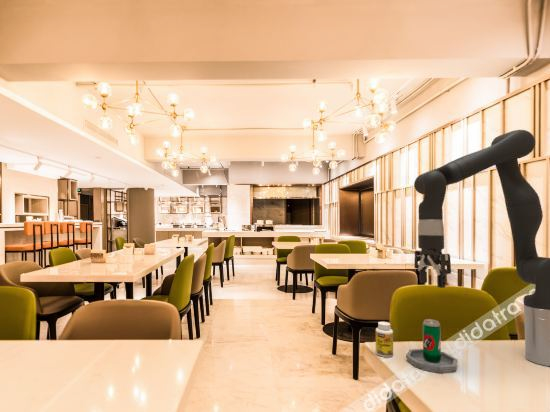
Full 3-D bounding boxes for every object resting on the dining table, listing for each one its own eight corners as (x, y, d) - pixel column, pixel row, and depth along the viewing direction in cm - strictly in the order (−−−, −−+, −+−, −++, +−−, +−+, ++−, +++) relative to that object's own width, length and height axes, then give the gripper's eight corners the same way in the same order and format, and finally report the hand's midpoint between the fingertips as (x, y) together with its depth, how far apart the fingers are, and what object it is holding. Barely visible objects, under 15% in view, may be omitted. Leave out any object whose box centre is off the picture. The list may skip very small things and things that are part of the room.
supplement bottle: (375, 356, 108) (374, 324, 108) (376, 350, 113) (376, 320, 114) (393, 358, 106) (392, 326, 106) (393, 352, 111) (393, 322, 112)
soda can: (443, 364, 100) (442, 323, 100) (425, 362, 101) (424, 322, 102) (438, 357, 105) (437, 319, 105) (421, 356, 106) (420, 318, 106)
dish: (435, 353, 111) (435, 347, 111) (468, 371, 97) (467, 364, 98) (398, 355, 108) (398, 350, 108) (426, 374, 95) (426, 368, 95)
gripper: (457, 234, 99) (459, 289, 98) (426, 233, 113) (427, 281, 112) (435, 234, 98) (436, 289, 97) (407, 233, 111) (407, 281, 111)
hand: (431, 285), depth 104 cm, fingers open, 8 cm apart
